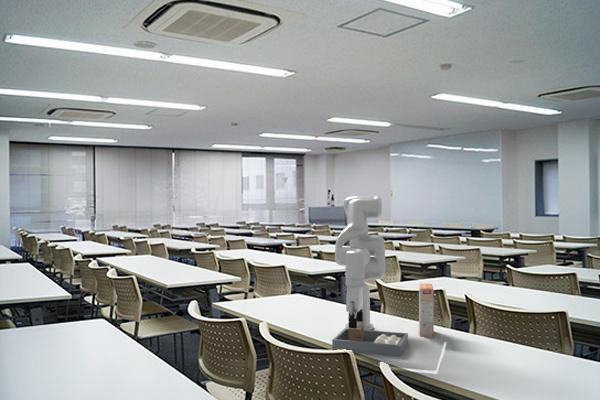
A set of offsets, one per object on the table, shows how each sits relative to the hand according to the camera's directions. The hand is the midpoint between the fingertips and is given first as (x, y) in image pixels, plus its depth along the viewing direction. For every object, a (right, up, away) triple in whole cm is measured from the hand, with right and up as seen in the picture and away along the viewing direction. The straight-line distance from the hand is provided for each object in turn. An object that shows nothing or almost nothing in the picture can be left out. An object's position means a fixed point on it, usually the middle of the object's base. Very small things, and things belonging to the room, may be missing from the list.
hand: (355, 324), depth 207 cm
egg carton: (+12, -8, -5) cm, 15 cm away
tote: (+6, -9, -3) cm, 11 cm away
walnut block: (0, -8, -1) cm, 8 cm away
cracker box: (+32, -9, +18) cm, 38 cm away
